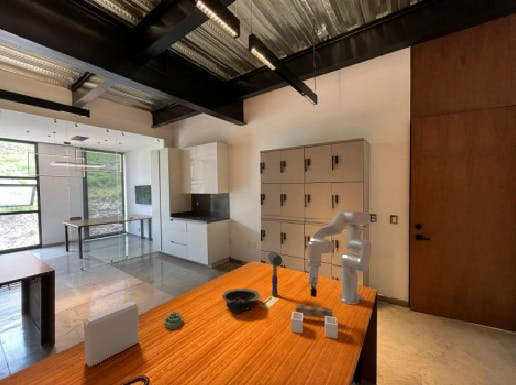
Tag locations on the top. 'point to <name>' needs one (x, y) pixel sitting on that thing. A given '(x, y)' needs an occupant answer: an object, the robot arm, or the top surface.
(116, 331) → the bevelled white case
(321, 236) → the robot arm
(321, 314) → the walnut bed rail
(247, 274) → the top surface
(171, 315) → the decorative artifact
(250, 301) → the stone bowl
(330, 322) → the twin hollow square sockets
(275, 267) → the rubber mallet
